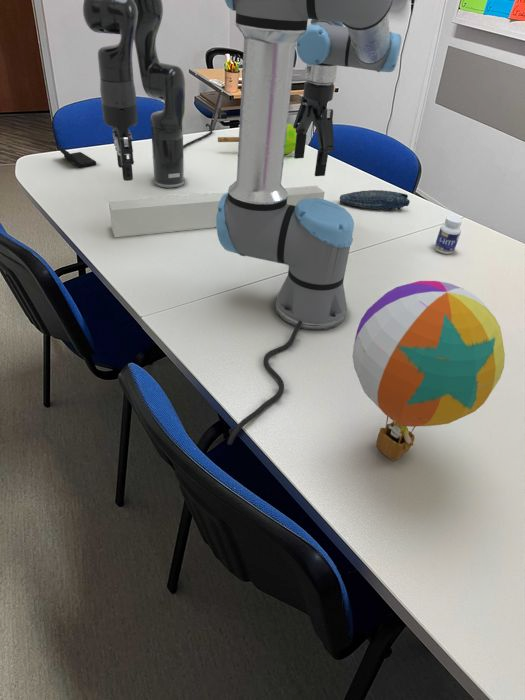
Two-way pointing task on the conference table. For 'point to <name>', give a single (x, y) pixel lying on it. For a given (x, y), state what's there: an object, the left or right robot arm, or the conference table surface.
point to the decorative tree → (288, 144)
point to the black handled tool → (77, 158)
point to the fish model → (376, 199)
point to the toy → (426, 358)
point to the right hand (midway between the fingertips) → (308, 166)
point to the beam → (180, 212)
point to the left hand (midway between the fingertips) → (125, 173)
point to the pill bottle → (448, 235)
